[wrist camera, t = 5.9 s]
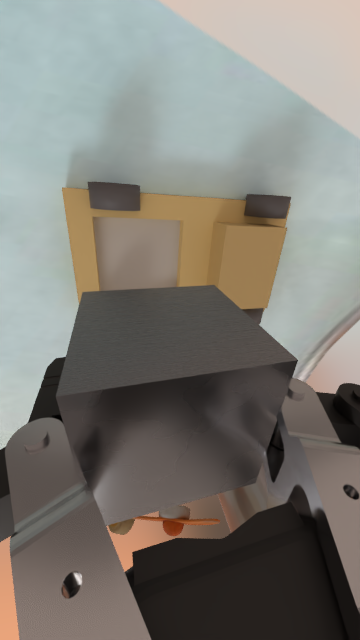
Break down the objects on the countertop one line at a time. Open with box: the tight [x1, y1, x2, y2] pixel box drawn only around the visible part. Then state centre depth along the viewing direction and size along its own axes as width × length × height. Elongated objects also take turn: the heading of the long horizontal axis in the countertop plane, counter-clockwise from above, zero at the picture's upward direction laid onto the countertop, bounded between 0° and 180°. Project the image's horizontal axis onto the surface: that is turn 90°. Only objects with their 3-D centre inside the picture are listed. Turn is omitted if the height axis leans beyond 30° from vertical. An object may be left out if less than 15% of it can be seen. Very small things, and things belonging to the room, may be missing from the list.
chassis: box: [62, 182, 291, 325], centre depth 23 cm, size 21×13×4 cm, turn 86°
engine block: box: [56, 285, 298, 526], centre depth 9 cm, size 6×6×6 cm
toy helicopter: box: [108, 505, 220, 536], centre depth 32 cm, size 8×21×14 cm, turn 139°
